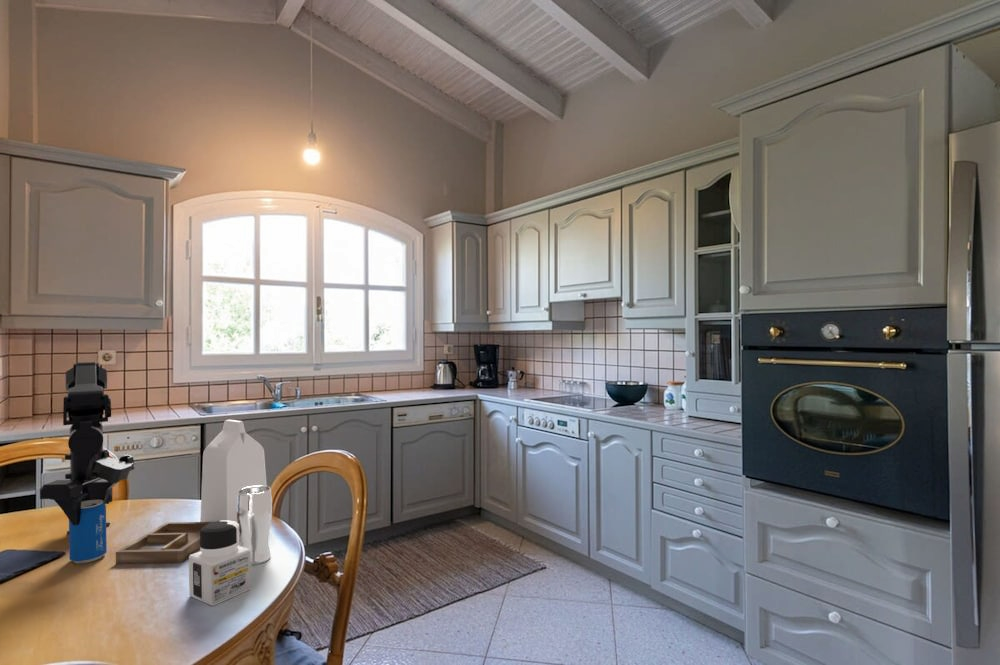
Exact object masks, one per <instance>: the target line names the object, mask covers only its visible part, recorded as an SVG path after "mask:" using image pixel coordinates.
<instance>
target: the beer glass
mask: <svg viewBox="0 0 1000 665" xmlns="http://www.w3.org/2000/svg"><path fill="white" fill-rule="evenodd" d="M237 493H238V495H237V522H238V524H239V538H240V543H241V547H244V548H247V549H250V551H251V566H256V565H255V564H257V565H261V564H263V562H264V563H265V561H266V562H267V561H269V560H270V559H271V557H272V555H271V551H270V546H269V538H270V536H269V535H270V529H271V523H272V517H273V498H272V488H271V486H268V485H267V486H251V487H246V488H243V489H240V490H239V491H238V492H237ZM260 563H261V564H260Z"/></svg>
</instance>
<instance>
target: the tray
mask: <svg viewBox="0 0 1000 665" xmlns="http://www.w3.org/2000/svg"><path fill="white" fill-rule="evenodd" d="M209 523H212V522H200V521H185V522H184V521H183V522H182V521H181V522H180V521H176V522H175V521H173V522H164V523H162V524H161V525H160V526H158V527H156V528H154V529H153V530H150V531H149V532H147V533H146V534H144V535H142V536H141V537H139V538H138V539H136V540H134V541H132V542H130V543H129V544H127V545H126V546H124V547H122V548H120V549H119V550H117V551H115V565H128V564H175V563H176V564H179V563H180V564H181V563H184V562H185V561H186V560H189V556H190V555H191V554H194V553H197V552H200V530H201V529H202V528H203V527H204V526H206V525H207V524H209Z"/></svg>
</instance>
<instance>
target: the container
mask: <svg viewBox="0 0 1000 665" xmlns="http://www.w3.org/2000/svg"><path fill="white" fill-rule="evenodd" d="M188 584H189V585H188V587H189V588H188V589H189V590H188V593H189V596H190V597H192V598H194V599H196V600H198V601H200V602H202V603H205V604H207V605H209V606H212V607H214V606H216V605H219V604H221V603H223V602H225V601H228V600H230V599H232V598H234V597H237V596H239V595H242V594H244V593H245V592H248V591H250V590H251V589H252V565H251V551H250V549H247V548H244V547H242V545H240V532H239V524H238V523H237V522H235V521H231V520H221V521H216V522H212V523H209V524H207V525H206V526H204V527H203V528H202V529H201V530H200V550H199V551H197V552H196V553H194V554H191V555H190V556H189V558H188Z"/></svg>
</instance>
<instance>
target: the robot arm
mask: <svg viewBox="0 0 1000 665" xmlns="http://www.w3.org/2000/svg"><path fill="white" fill-rule="evenodd" d="M99 364H100V362H96V361H89V362H88V361H87V362H86V361H84V362H80V361H79V362H76V363H73V364H72V365H73V367H71V368H70V369H68V370H66V371H65V392H67V396H63V408H62V410H63V413H62V414H63V415H62V416H63V420H62V422H63V424H62V425H63V426H70V425H71V426H70V428H69V437H68V442H67V443H68V444H67V446H68V448H69V453H68V454H64V460H65V461H66V460H67V461H68V460H69V463H70V465H69V466H70V467H69V468H70V471H69V472H68V473H65V475H64V479H61V480H60V479H57V480H54V481H51V482H48V483H45V484H43V485H42V486H41V487H40V488H39V499H40V500H52V501H53V500H54V502H55V503H56V504H57V505H58V507H59V508H60V509H61V510H62V512H63V513H64V514H65V516H66V517H67V519H68V521H69V520H70V522H71V523H72V525H79V522H80V514H81V502H83V501H88V500H103V503H104V504H105V505H109V504H110V503H111V502H113V487H115V486H116V484H118V483H120V482H121V481H124V480H127V479H128V477H129V474H130V472H131V471H134V470H135V460H134V455H130V454H125V455H122V456H121V457H120V458H118V457H115V458H112V457H111V456H110V452H109V450H108V449H104V435H103V434H104V433H103V431H104V430H103V429H104V428H103V427H104V426H103V424H102V423H104V422H105V423H106V422H109V418H111V417H112V402H111V401H112V400H111V398H110V397H109V394H107V393H105V390H107V389H108V370H107V369H106V368H103V367H101V366H100V365H99ZM110 525H111V522H106V527H108V526H110ZM66 534H67V535H69V530H67V531H66Z"/></svg>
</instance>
